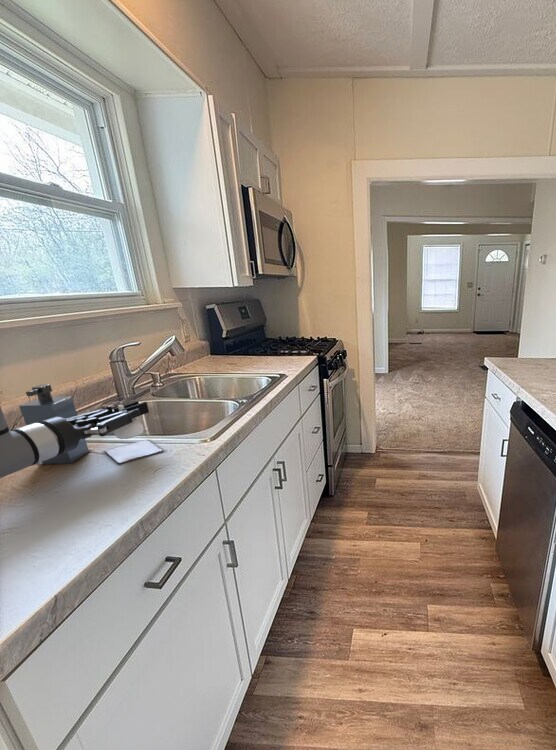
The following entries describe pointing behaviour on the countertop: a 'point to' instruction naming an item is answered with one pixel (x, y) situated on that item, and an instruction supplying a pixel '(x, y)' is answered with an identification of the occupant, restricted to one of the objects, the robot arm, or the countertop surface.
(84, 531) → the countertop surface
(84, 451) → the soap dispenser
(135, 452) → the flat dark-edged slab
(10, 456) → the robot arm
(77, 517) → the countertop surface
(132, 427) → the garlic bulb
